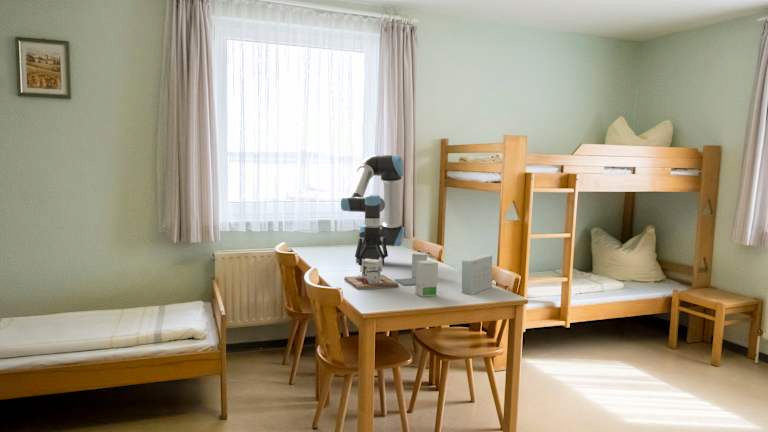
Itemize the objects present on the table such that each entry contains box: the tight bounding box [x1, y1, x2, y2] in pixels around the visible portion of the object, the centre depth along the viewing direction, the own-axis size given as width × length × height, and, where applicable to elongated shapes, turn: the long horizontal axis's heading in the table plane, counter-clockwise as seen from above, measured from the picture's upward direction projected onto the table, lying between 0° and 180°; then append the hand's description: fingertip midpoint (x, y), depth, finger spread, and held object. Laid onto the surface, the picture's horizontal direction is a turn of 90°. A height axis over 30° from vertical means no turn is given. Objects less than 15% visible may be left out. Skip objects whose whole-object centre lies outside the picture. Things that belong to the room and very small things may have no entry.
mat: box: [394, 277, 416, 287], centre depth 272 cm, size 12×12×1 cm
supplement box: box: [410, 251, 428, 278], centre depth 285 cm, size 7×7×13 cm
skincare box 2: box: [461, 254, 493, 296], centre depth 259 cm, size 21×6×16 cm, turn 141°
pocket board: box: [344, 274, 399, 291], centre depth 267 cm, size 21×21×2 cm
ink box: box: [360, 259, 382, 284], centre depth 267 cm, size 9×5×12 cm, turn 70°
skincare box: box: [415, 260, 439, 298], centre depth 247 cm, size 8×7×16 cm
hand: (371, 271), depth 267 cm, fingers closed on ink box, 9 cm apart
